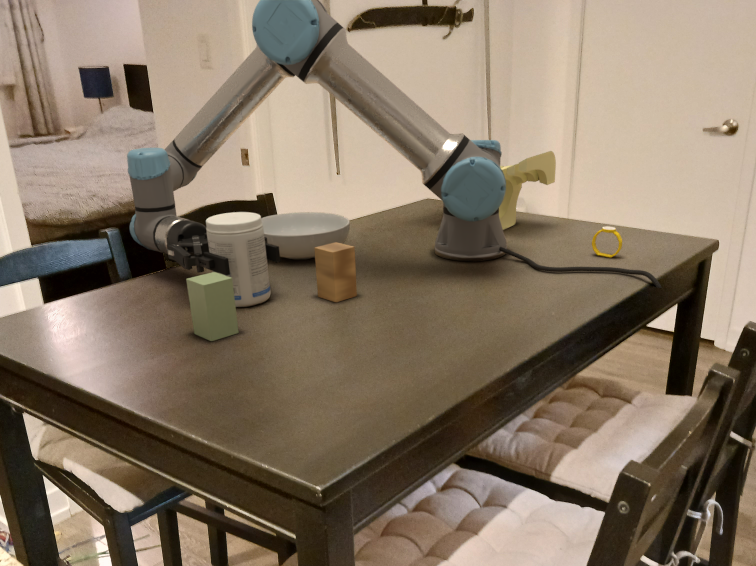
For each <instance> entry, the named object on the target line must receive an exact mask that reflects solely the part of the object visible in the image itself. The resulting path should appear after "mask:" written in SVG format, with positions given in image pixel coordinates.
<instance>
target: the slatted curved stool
mask: <svg viewBox="0 0 756 566" xmlns="http://www.w3.org/2000/svg"><path fill="white" fill-rule="evenodd" d="M555 155H556V154H555V153H554V152H553V151H552V150H549V151H546V152H542V153H540V154H539V153H538V154H536V155H533V156H529V157H526V158H525V159H522V160H520V161H519V162H518V163H516V164H512V165H506V166H504V165H500V168H501V170H502V171H503V174H504V176H505V180H506V192H505V196H504V199H503V201H502V203H501V205H500V207H499V218H500V222H501V225H502V229H503V231H505V230H506V229H508V228H510V227H512V226H515V225H516V222H517V205H518V199H519V195H520V192H521V190H522V188H523V184H524V183H527V182H532V183H536V182H539V184H543V185H546V186H548V185H551V184H554V183H556V182H555V181H556V167H557V166H556V165H557V162H556V156H555Z"/></svg>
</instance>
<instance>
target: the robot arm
mask: <svg viewBox="0 0 756 566" xmlns="http://www.w3.org/2000/svg"><path fill="white" fill-rule="evenodd" d="M251 18H252V20H251V30H252V34H253V38H254V41H255V43H256V47H255V48H254V49H253V50H252V51H251V52H250V53H249V55H248V56H247V57H246V58H245V59H244V61H243V62H241V64H240V65H238V67H237V68H236V69H235V70H234V72H233V73H232V74H231V75H230V76H229V77H228V78H227V79H226V81H224V83H223V84H222V85H221V86H220V87H218V89H217V90H216V92H214V94H213V95H212V96H211V97H210V98H209V99H208V100H207V101H206V103H204V105H203V106H202V107H201V108H200V109H199V111H198V112H197V113H195V115H194V116H193V117H192V118H191V120H190V121H189V122H187V124H186V125H185V126H184V127H183V128H182V129H181V131H180V132H178V133H177V135H175V137H174V139H173V140H172V141H171V142H170V143H169V144H168V145H167V146H166V147H165V148H162V147H141V148H135V149H131V150H129V151H128V152H127V154H126V160H127V161H126V162H127V173H128V176H129V181H130V187H131V193H132V198H133V203H134V211H135V212H134V215H132V217H131V219H130V223H129V233H130V236H131V237H132V239H133V241H135V243H137V244H138V245H140V246H142V247H144V248H145V249H147V250H149V251H154V252H159V253H162V254H164V255H167V256H168V259H169V260H172V261H175V262H176V263H177V264H179V265H180V266H181V267H182V268H183V269H184V270H187V271H190V270H193V267H196V272H197V273H204V272H205V269H206V270H209V271H215V272H218V273H221V274H224V275H229V274H230V269H229V261H228V258H225V257H222V256H219V255H216V254H212V253H210V252H209V246H208V239H207V230H206V227H207V226H206V225H204V224H203V223H201V222H197V221H194V220H190V219H188V218H184V217H180V216H177V209H176V201H175V194H174V193H175V191H178V190H179V189H181V188H183V187H186V186H188V185H189V184H191V183H192V181H194V180H195V178H196V177H197V174H198V172H199V171H200V170H202V168H203V166H205V164H206V163H207V162H208V161H209V160H210V159H211V158H212V157H213V156H214V155H215V154H216V153H217V152H218V150H220V148H221V147H222V146H223V145H224V144H225V143H226V142H228V140H229V139H230V138H231V137H232V135H233V134H235V133H236V131H237V130H239V128H240V127H241V126H242V125H243V124H244V123H245V122H246V121H247V120H248V118H249V117H250V116H251V115H252V114H253V113H254V112H255V111H256V110H257V109H258V108H259V107H260V106H261V105H262V104H263V102H264V101H265V100H266V99H268V97H269V96H271V94H272V93H273V92H274V91H275V90H276V89H277V87H278V86H279V85H280V84H282V82H283V81H284V80H285V79H286V78H295V77H297V79H299V80H300V81H301V82H303V83H304V84H306V85H309V84H316V85H317V84H318V85H319V86H321V87H322V88H323V89H324V90H325V91H326V92H327V93H329V95H330V96H332V97H333V98H334V99H336V100H337V101H338V102H339V103H341V104H342V105H343V106H344V107H345V108H346V109H347V110H349V112H351V113H352V114H353V115H354V116H355V117H357V118H358V119H359V120H360V121H361V122H362V123H363V124H364V125H366V126H367V127H369V129H371V130H372V131H374V133H375V134H377V136H379V137H380V138H381V139H383V141H385V142H386V143H387V144H388V145H389V146H391V147H392V148H393V149H394V150H395V151H396V152H397V153H398V154H400V155H401V156H402V157H403V158H405V159H406V160H407V161H408V162H409V163H411V165H412V166H414V167H415V168H416V169H417V170H419V171H420V173H421V174H420V175H421V183H422V185H423V186H424V187H426V188H427V189H428V190H429V191H431V192H432V193H433V195H435V196H436V197H437V198H438V199H440V200H441V202H442V219H441V222H440V224H439V228H438V230H437V231H438V232H437V233H436V234H437V235H436V238H435V240H434V254H435V255H436V256H438V257H440V258H443V259H446V260H450V261H452V260H453V261H458V262H459V261H461V262H482V261H490V260H494V259H498V258H499V259H500V258H501V257H503V256H505V255H509V256H512V257H514V258H516V259H518V260H521V261H523V262H525V263H527V264H528V265H530V266H531V267H532V268H533V269H536V270H539V271H544V272H550V273H565V272H567V273H569V272H596V273H597V272H600V273H601V272H603V273H619V274H625V275H633V276H644V277H646V278H647V279H648V280H650V281H651V282H652V284H653V285H654V287H655V288H657V289H662V285H661V283H660V282H659V280H658V279H657V278H656V277H655V276H654V275H653V274H652V273H650V272H649V271H646V270H643V269H642V270H641V269H627V268H622V267H621V268H620V267H614V266H613V267H610V266H563V267H562V266H561V267H559V266H558V267H557V266H545V265H540V264H537V262H535V261H533V260H532V259H531V258H529V257H527V256H525V255H522V254H519V253H518V252H515V251H512V250H510V249H508V244H507V239H506V236H505V232H504V230H503V229H502V225H501V222H500V218H499V207H500V205H501V203H502V201H503V199H504V196H505V192H506V180H505V176H504V174H503V171H502V170H501V168H500V166H501V157H502V153H503V152H502V151H501V150H502V148H501V147H502V146H501V142H500V141H498V140H497V139H470V138H469V137H468V136H467V135H465V134H464V133H450V132H449V131H448V130H447V129H445V128H444V127H443V126H442V125H441V124H440V123H438V121H436V119H434V117H432V116H431V115H430V114H429V113H427V111H425V109H423V108H422V107H420V106H419V104H417V102H415V100H413V99H412V98H411V97H410V96H408V95H407V94H406V93H405V92H404V91H402V90H401V89H400V88H399V87H398V86H397V85H396V84H395V83H393V82H392V80H390V79H389V78H388V77H387V76H386V75H384V74H383V72H381V71H380V70H379V69H378V68H377V67H375V66H374V65H373V64H372V63H371V62H370V61H369V60H368V59H366V58H365V57H364V56H363V55H362V54H361V53H360V52H358V51H357V50H356V49H355V48H354V47H353V46H351V45H350V44H349V41H348V38H347V31H346V28H345V27H344V26H342V24H340V23H339V22H338V21H337V20H336V19H334V18H333V17H332V16H331V15H330V14H329V13H328V11H327V9H326V7H325V6H324V4H323V3H322V2H321V0H259V1H258V2H257V4H256V6H255V8H254V10H253V14H252V17H251ZM264 239H265V247H266V255H267V261H270V262H273V263H280V262H281V257H280V252H279V246H275V245H272V244H268V241H267V237H264Z"/></svg>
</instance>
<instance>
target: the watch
mask: <svg viewBox="0 0 756 566" xmlns="http://www.w3.org/2000/svg"><path fill="white" fill-rule="evenodd" d="M600 233H606V234H613V235H614V236H615V237H616V239H617V241H618V246H617V247H618V248H617V250H616V251H615V252H614V253H613V254H609V253H605V252H601V251H600V250H599V249H598V247H597V243H596V241H597V237H598V236H599V235H600ZM591 247H592V251H593V252H594V253H595V254H596V256H600V257H606V258H610V259H611V258H613V257H615V256H617V255H618V254H620V251H621V250H622V248H623V238H622V236H621V234H620V233H619V232H618V231H617V228H616V227H615V226H609V225H608V226H607V225H606V226H602V227H601V229H600V230H598V231H597V232H596V233H595V234H594V235H593V236H592V240H591Z"/></svg>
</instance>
